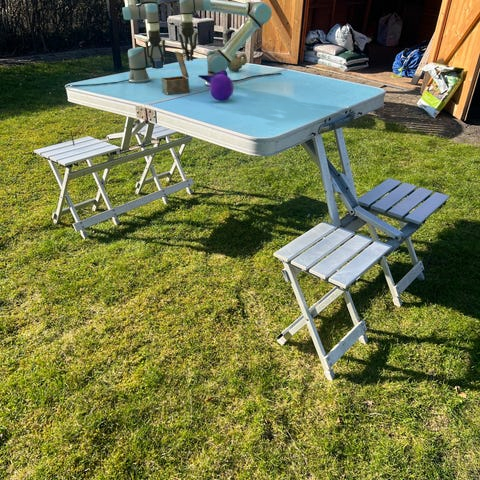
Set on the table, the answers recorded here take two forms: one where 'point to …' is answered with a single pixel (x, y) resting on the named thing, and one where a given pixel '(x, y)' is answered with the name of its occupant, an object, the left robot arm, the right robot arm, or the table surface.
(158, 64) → the block
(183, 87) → the chest
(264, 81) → the table surface
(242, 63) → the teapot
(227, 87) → the toy
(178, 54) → the lid
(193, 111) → the table surface
